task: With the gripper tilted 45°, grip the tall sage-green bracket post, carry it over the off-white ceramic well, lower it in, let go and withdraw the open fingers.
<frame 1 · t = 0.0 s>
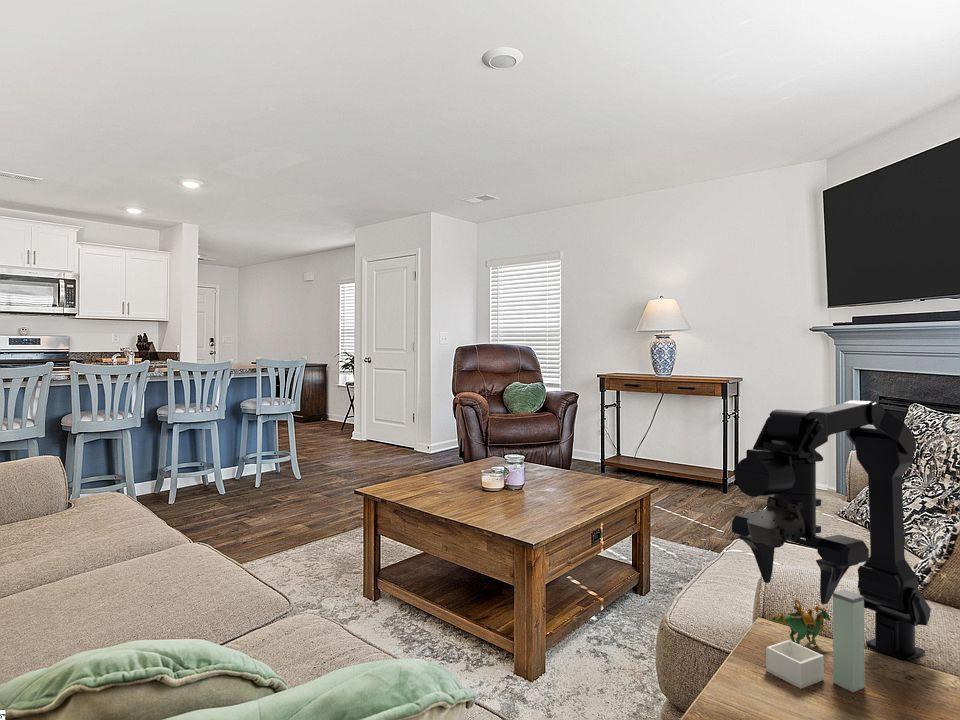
hand: (794, 592, 86), 15 cm above the table, tool pointing down, fingers open, 9 cm apart
figurine: (799, 646, 99), on the table
ceramic well: (794, 675, 89), on the table
sage bracket post: (848, 685, 87), on the table
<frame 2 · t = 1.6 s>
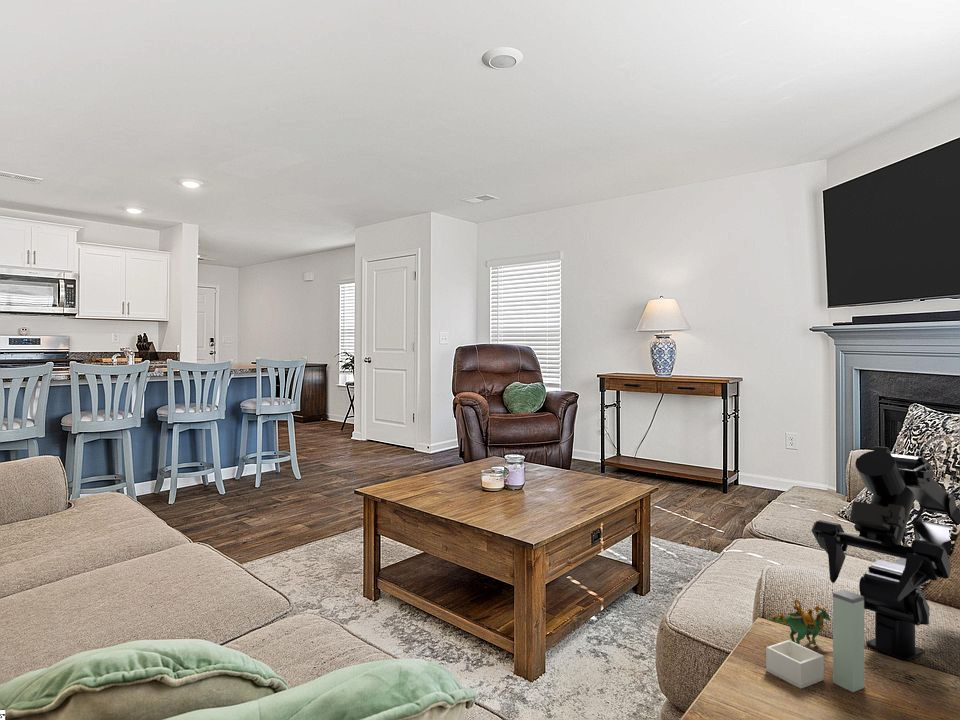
hand: (863, 590, 90), 13 cm above the table, tool tilted 45°, fingers open, 9 cm apart
nothing on the table moved.
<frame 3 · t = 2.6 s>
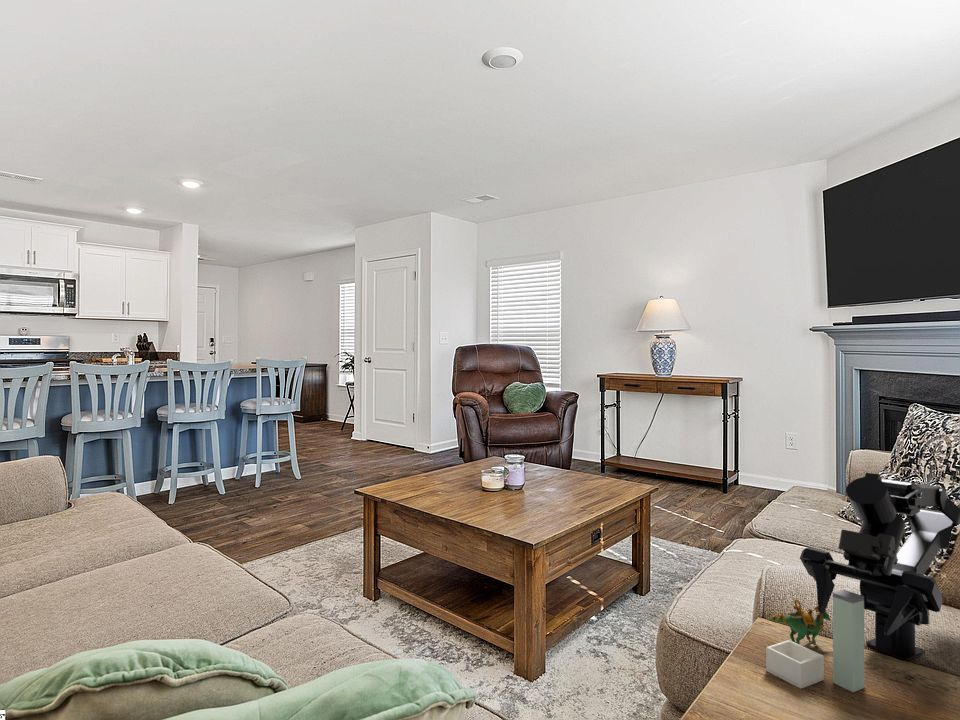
hand: (851, 622, 88), 9 cm above the table, tool tilted 45°, fingers open, 9 cm apart
nothing on the table moved.
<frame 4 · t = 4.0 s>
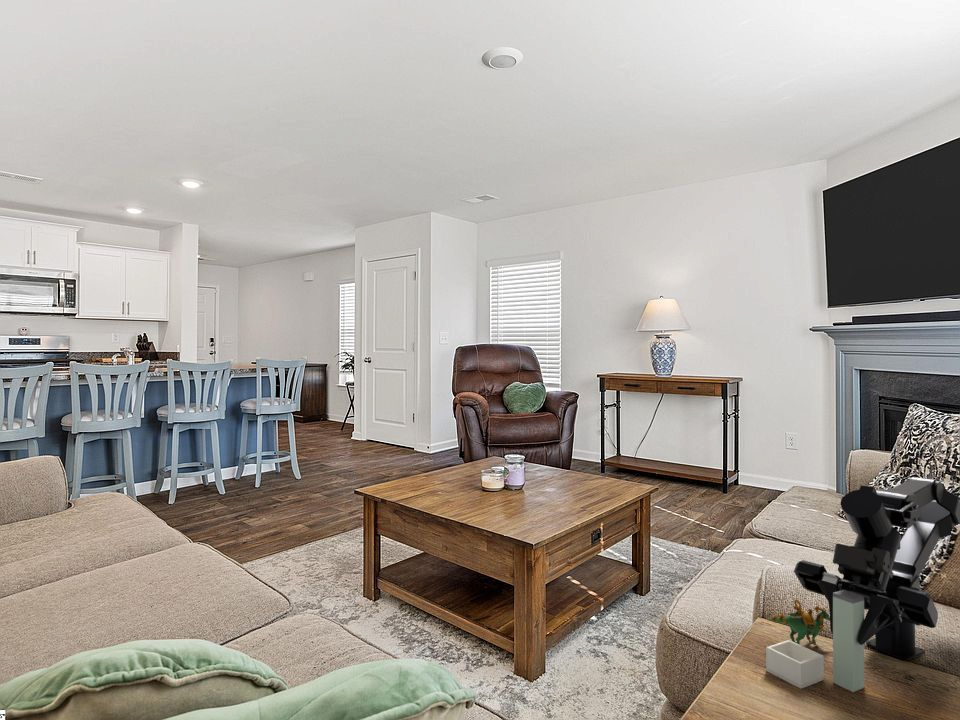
hand: (845, 638, 86), 7 cm above the table, tool tilted 45°, fingers closed on sage bracket post, 3 cm apart
sage bracket post: (848, 684, 87), on the table, touching gripper
everything else where it was.
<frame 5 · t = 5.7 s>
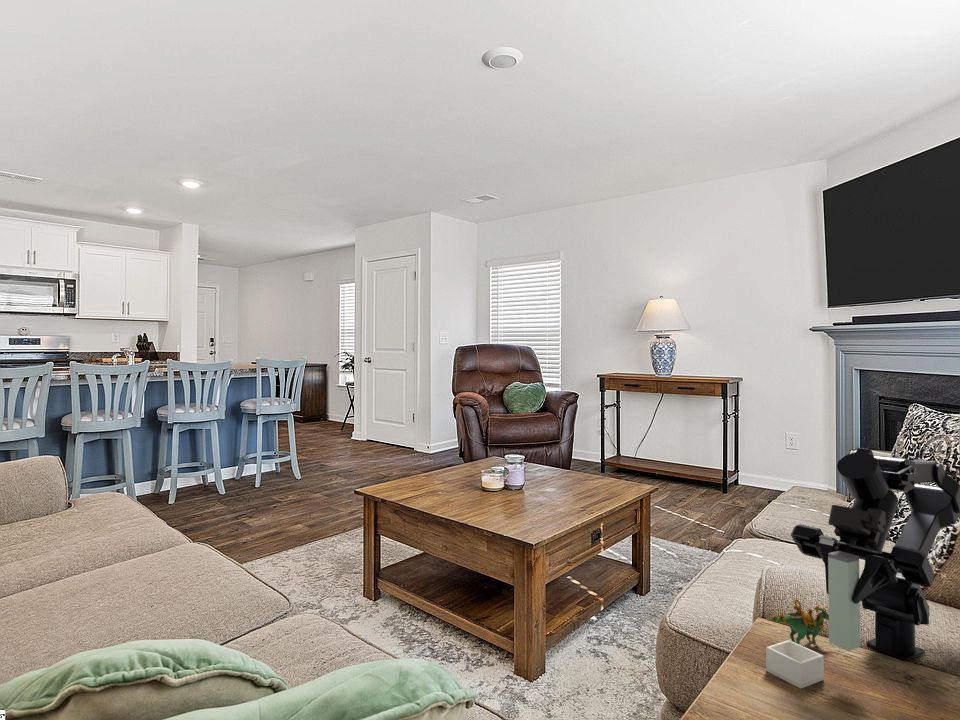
hand: (841, 598, 87), 14 cm above the table, tool tilted 45°, fingers closed on sage bracket post, 3 cm apart
sage bracket post: (844, 644, 87), point 6 cm above the table, touching gripper
everything else where it was.
when the fingers open (9 cm above the table, at t = 7.6 s): sage bracket post drops 1 cm, resting on ceramic well.
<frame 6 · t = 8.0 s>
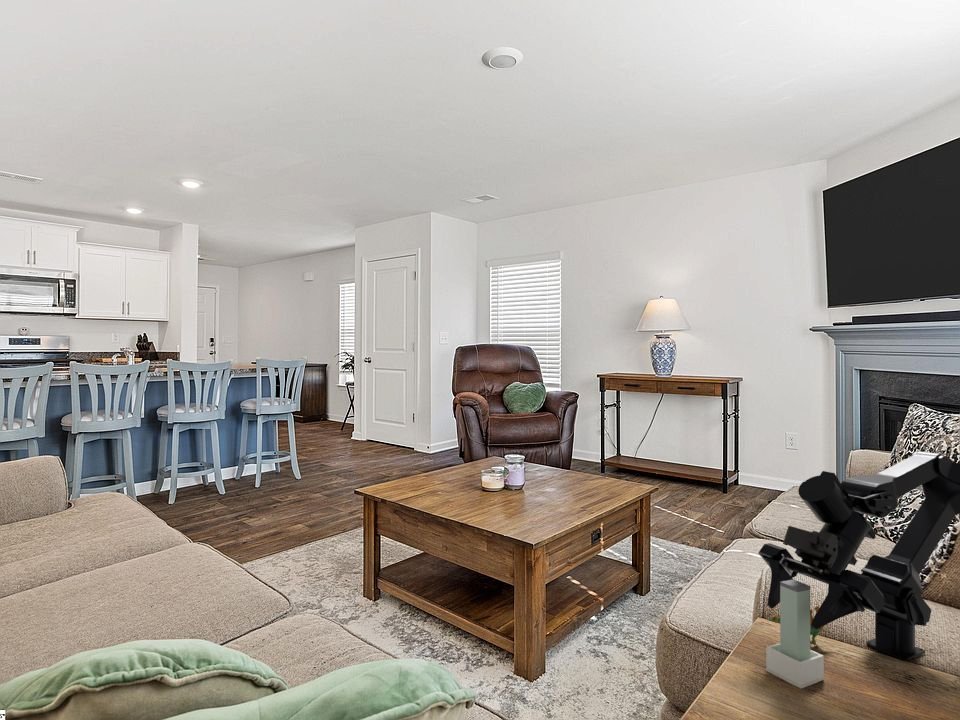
hand: (790, 616, 89), 9 cm above the table, tool tilted 45°, fingers open, 8 cm apart
sage bracket post: (795, 671, 89), point 1 cm above the table, touching ceramic well
everything else where it was.
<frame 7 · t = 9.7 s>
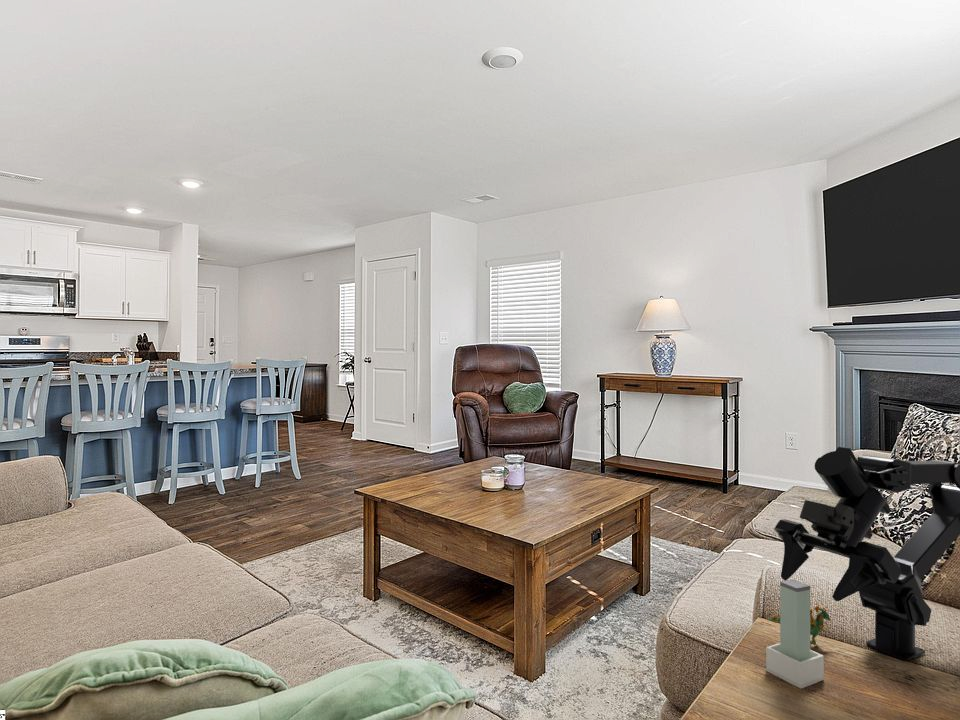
hand: (807, 588, 91), 13 cm above the table, tool tilted 45°, fingers open, 9 cm apart
nothing on the table moved.
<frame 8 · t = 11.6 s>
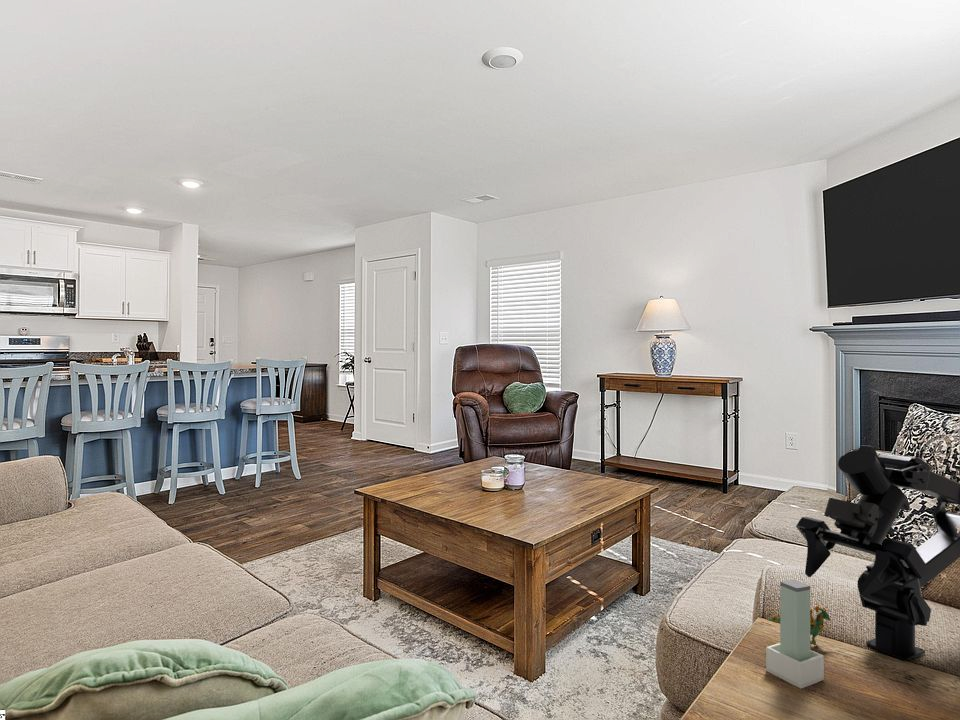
hand: (833, 584, 92), 14 cm above the table, tool tilted 45°, fingers open, 9 cm apart
nothing on the table moved.
at the end: sage bracket post 0.1 cm off-centre on the ceramic well, point 0.6 cm above the ceramic well's base; sage bracket post tilted 0°; the gripper is holding nothing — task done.
